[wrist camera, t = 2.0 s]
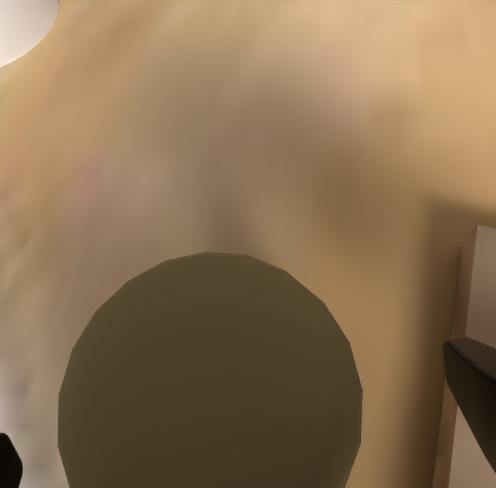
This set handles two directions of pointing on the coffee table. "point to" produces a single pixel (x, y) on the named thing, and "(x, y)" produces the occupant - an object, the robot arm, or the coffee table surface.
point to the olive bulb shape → (210, 383)
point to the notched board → (483, 330)
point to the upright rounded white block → (24, 26)
